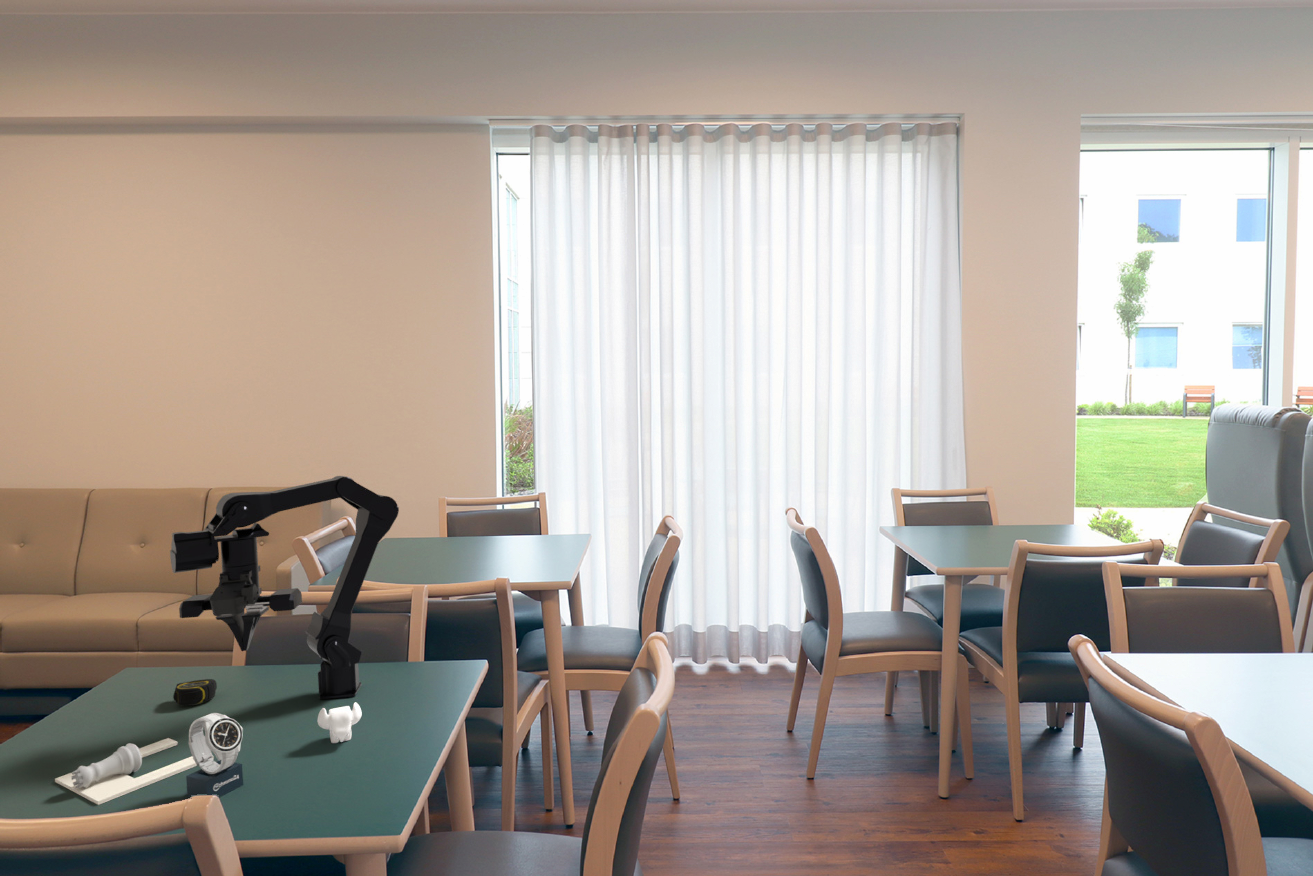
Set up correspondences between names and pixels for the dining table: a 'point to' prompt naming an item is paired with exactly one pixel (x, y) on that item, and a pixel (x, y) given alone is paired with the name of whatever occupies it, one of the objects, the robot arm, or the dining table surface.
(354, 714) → the elephant figurine
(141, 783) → the cream u-shaped flat bracket
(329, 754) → the dining table surface
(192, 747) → the watch
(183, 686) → the tape measure
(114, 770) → the rook chess piece
